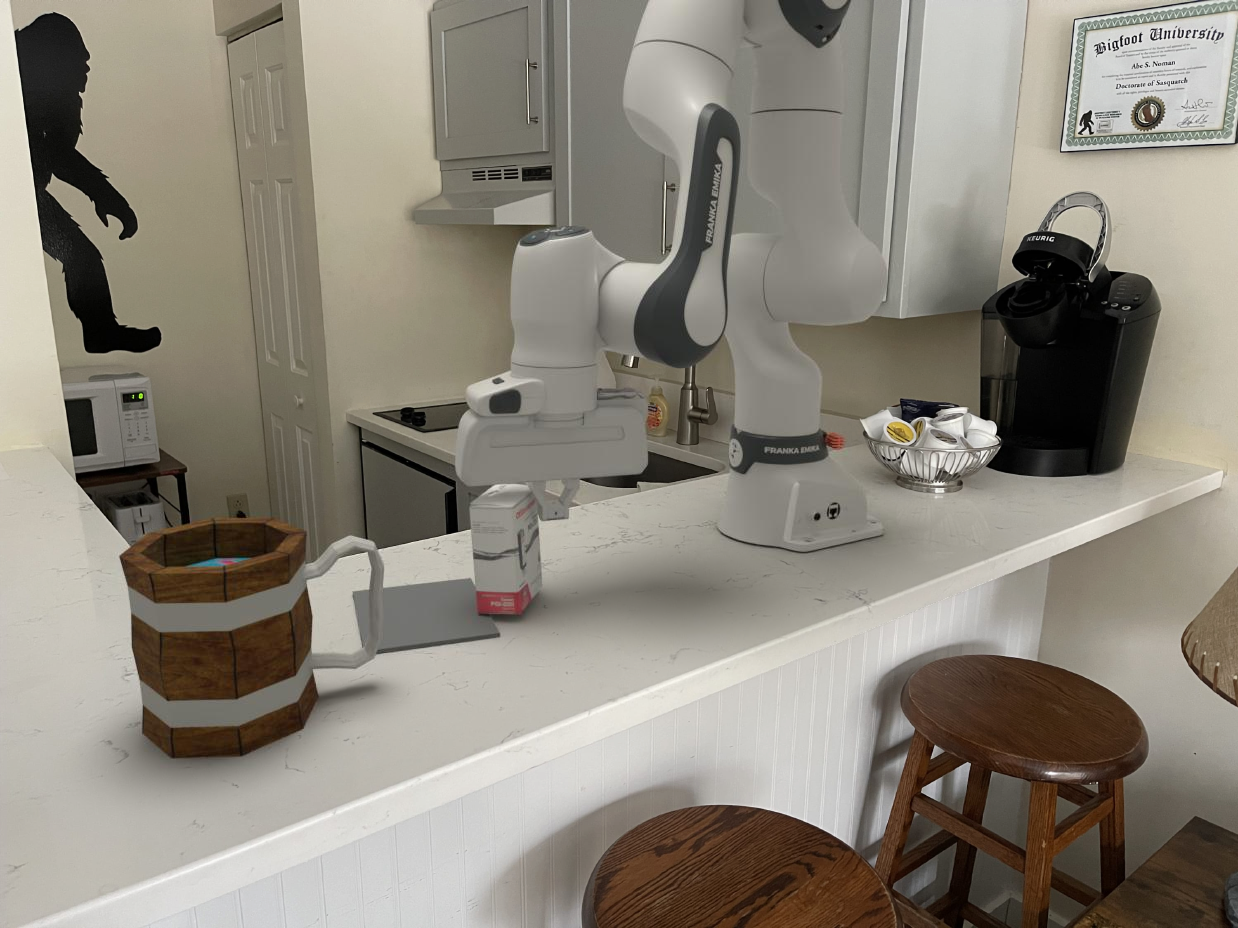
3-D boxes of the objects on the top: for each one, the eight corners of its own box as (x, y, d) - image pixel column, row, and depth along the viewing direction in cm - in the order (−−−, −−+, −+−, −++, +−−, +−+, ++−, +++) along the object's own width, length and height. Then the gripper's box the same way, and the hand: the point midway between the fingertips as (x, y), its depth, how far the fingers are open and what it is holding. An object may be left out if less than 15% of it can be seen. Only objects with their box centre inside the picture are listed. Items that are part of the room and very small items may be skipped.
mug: (141, 778, 65) (116, 588, 62) (142, 694, 77) (120, 528, 73) (409, 717, 74) (401, 547, 70) (373, 650, 86) (365, 500, 82)
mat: (470, 581, 103) (470, 577, 102) (499, 636, 89) (499, 632, 89) (352, 594, 98) (352, 591, 98) (364, 655, 85) (364, 651, 85)
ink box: (523, 616, 92) (512, 504, 89) (476, 615, 93) (464, 504, 90) (546, 585, 100) (537, 482, 97) (503, 585, 101) (492, 482, 98)
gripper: (637, 381, 98) (634, 502, 102) (450, 388, 91) (453, 518, 95) (659, 391, 92) (655, 519, 96) (461, 399, 85) (464, 537, 89)
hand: (553, 518), depth 95 cm, fingers closed
